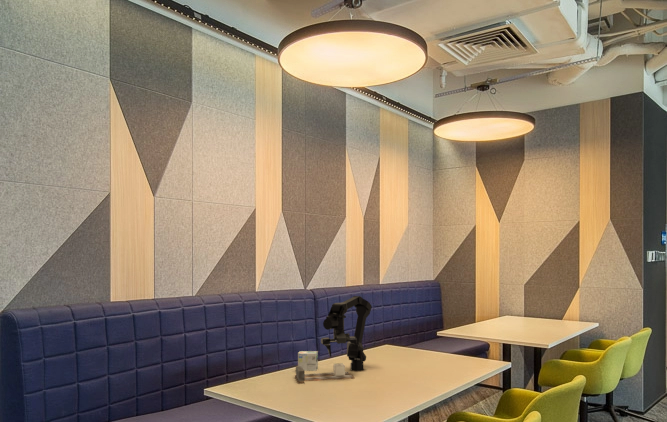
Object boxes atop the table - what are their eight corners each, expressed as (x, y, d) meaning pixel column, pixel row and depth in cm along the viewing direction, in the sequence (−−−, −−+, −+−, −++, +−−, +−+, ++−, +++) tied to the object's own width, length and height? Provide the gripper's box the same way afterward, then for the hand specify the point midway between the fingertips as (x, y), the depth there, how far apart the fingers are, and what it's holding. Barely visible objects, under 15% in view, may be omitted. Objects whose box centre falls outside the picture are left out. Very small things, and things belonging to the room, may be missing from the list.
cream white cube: (342, 374, 279) (342, 363, 280) (345, 377, 274) (344, 365, 274) (333, 374, 278) (333, 363, 279) (335, 377, 273) (335, 366, 273)
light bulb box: (318, 370, 295) (318, 350, 295) (316, 372, 288) (316, 353, 289) (299, 369, 296) (299, 350, 296) (297, 372, 289) (297, 353, 290)
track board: (349, 374, 284) (348, 363, 285) (355, 380, 270) (354, 368, 271) (294, 377, 278) (294, 365, 279) (298, 383, 265) (298, 371, 265)
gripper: (324, 330, 268) (324, 360, 267) (359, 328, 272) (359, 359, 271) (320, 327, 279) (320, 356, 278) (354, 325, 283) (354, 354, 282)
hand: (339, 356), depth 277 cm, fingers open, 9 cm apart
